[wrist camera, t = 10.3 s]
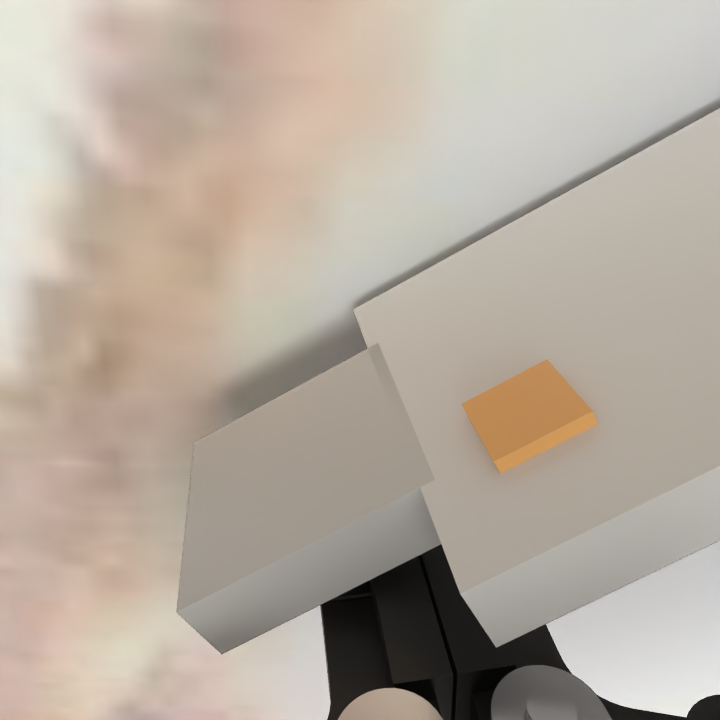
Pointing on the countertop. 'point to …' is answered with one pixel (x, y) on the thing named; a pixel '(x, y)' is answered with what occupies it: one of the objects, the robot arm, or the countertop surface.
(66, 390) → the countertop surface
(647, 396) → the side door
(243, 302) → the countertop surface
